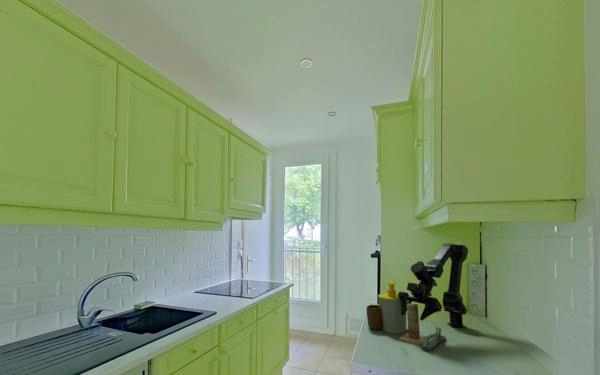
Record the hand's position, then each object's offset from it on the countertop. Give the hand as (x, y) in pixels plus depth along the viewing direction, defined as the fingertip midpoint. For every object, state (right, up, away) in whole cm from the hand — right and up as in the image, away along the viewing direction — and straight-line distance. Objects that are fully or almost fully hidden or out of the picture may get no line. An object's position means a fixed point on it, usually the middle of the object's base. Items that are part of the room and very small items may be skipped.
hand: (411, 317), depth 129 cm
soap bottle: (-3, -12, +14) cm, 19 cm away
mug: (-11, -12, +17) cm, 23 cm away
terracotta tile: (+1, -9, -1) cm, 9 cm away
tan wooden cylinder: (+1, -8, 0) cm, 8 cm away
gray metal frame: (+7, -8, -5) cm, 12 cm away
